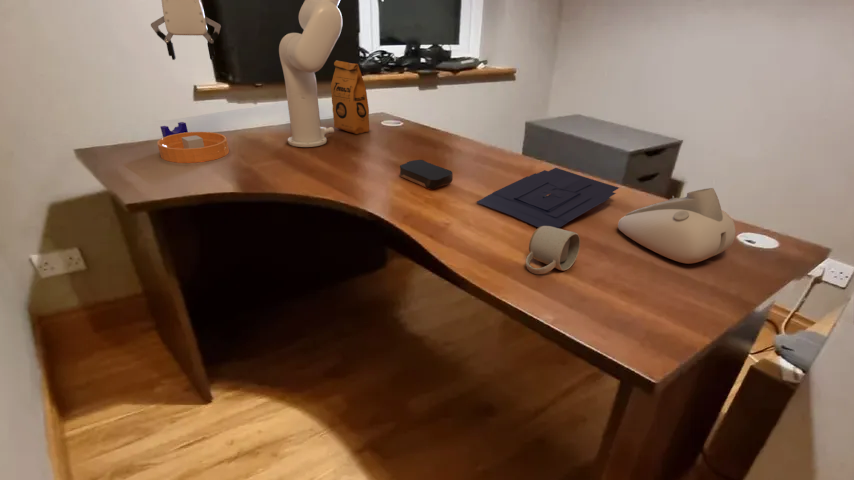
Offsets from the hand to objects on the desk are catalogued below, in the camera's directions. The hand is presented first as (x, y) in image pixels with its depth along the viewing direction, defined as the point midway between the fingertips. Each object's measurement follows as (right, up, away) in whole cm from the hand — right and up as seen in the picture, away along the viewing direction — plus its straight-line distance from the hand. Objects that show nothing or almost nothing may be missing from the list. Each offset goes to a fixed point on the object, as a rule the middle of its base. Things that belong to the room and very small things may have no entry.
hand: (193, 59), depth 147 cm
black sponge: (+64, -33, +2) cm, 72 cm away
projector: (+118, -57, -29) cm, 134 cm away
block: (-6, -21, +14) cm, 26 cm away
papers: (+96, -43, -10) cm, 106 cm away
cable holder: (-20, -10, +31) cm, 38 cm away
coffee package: (+37, -3, +44) cm, 57 cm away
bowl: (-6, -21, +15) cm, 27 cm away
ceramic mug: (+90, -62, -39) cm, 116 cm away
